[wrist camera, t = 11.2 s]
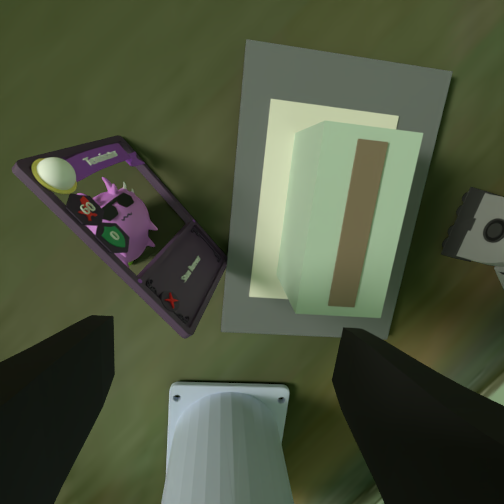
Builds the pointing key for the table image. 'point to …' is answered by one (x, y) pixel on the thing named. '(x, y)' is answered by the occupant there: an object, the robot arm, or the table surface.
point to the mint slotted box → (344, 216)
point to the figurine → (478, 231)
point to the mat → (279, 163)
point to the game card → (129, 229)
